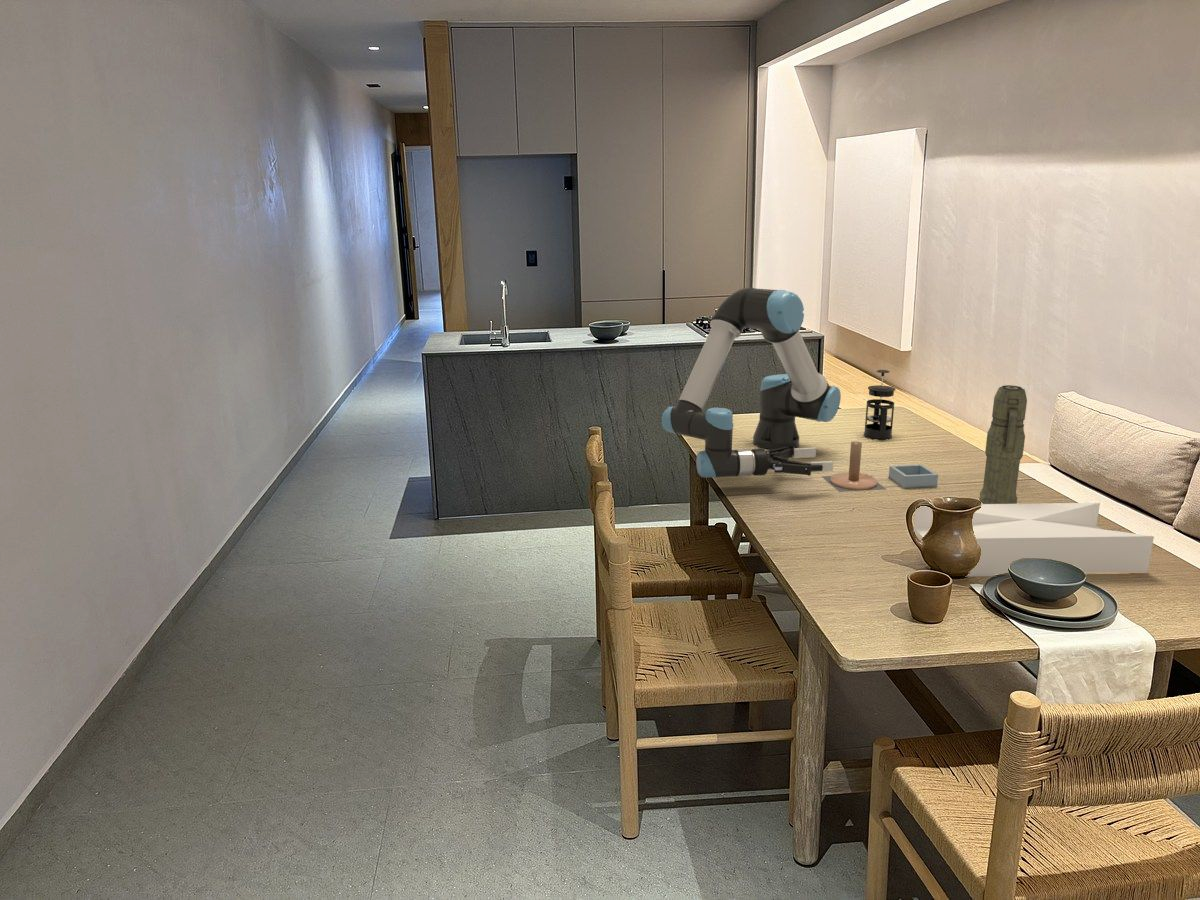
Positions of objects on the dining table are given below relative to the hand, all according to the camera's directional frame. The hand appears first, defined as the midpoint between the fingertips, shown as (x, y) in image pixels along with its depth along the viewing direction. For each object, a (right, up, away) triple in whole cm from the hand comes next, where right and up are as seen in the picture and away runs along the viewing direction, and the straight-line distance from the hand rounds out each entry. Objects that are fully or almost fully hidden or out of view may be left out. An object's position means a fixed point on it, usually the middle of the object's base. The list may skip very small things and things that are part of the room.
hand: (823, 459), depth 263 cm
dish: (+27, -7, +4) cm, 28 cm away
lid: (+9, -7, +3) cm, 12 cm away
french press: (+31, +7, +52) cm, 61 cm away
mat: (+9, -7, +4) cm, 12 cm away
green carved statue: (+38, -16, -25) cm, 48 cm away
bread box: (+36, -23, -47) cm, 63 cm away
